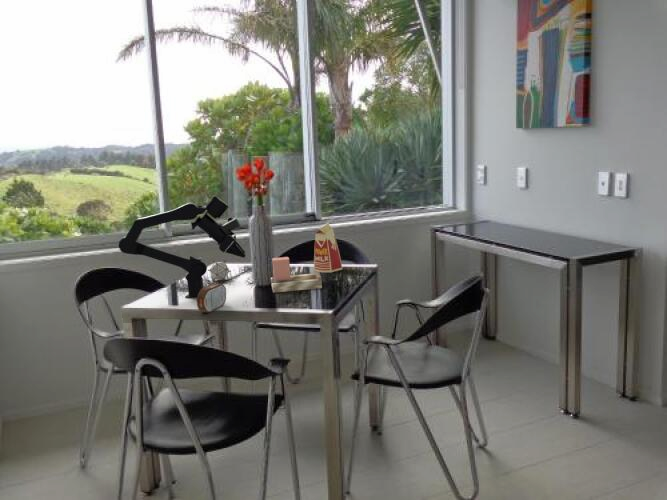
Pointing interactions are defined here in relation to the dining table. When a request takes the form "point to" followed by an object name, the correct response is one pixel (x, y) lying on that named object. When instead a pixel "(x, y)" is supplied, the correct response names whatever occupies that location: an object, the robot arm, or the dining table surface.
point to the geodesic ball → (219, 270)
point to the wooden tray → (297, 283)
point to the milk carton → (326, 251)
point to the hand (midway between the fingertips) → (244, 254)
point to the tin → (211, 297)
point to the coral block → (281, 268)
